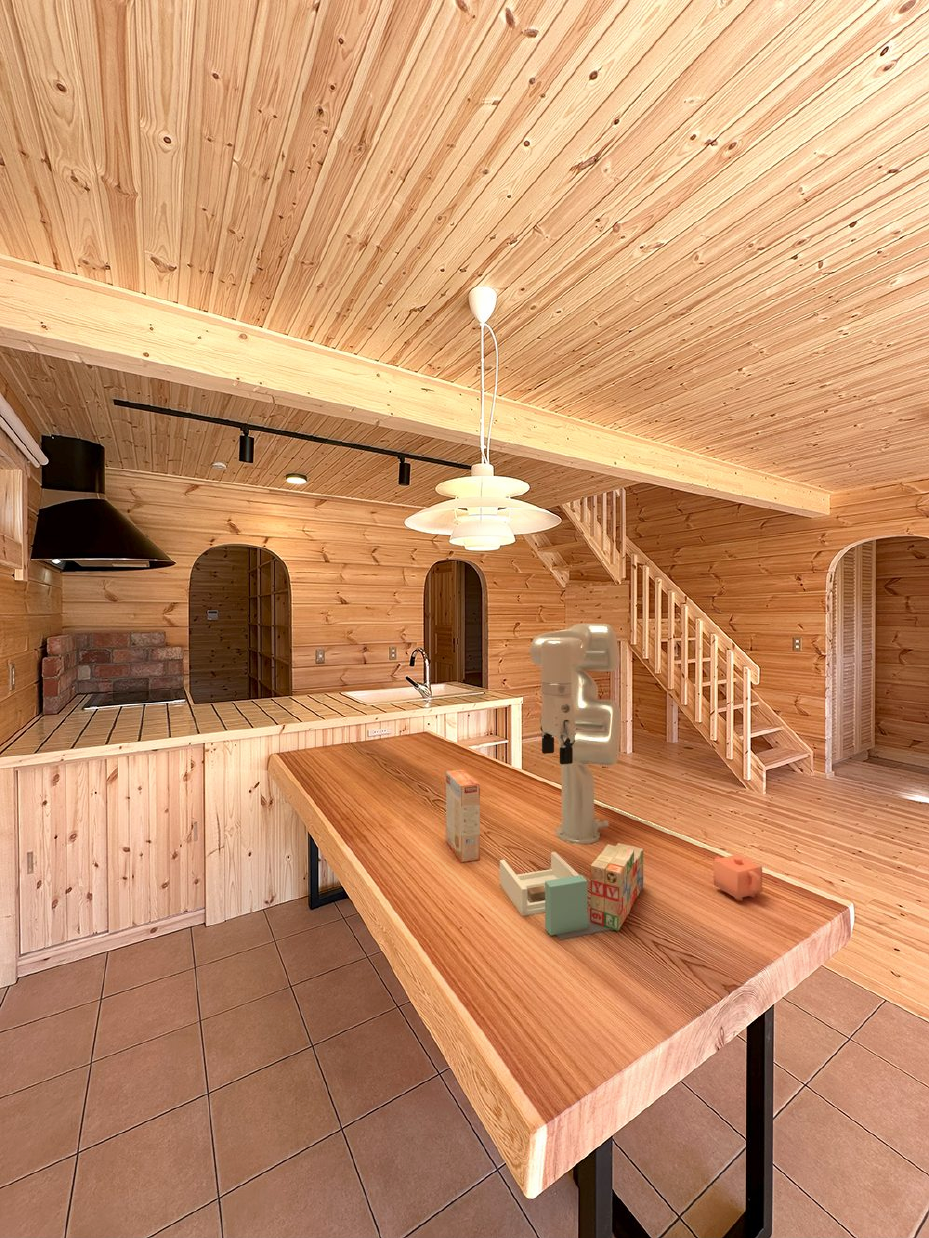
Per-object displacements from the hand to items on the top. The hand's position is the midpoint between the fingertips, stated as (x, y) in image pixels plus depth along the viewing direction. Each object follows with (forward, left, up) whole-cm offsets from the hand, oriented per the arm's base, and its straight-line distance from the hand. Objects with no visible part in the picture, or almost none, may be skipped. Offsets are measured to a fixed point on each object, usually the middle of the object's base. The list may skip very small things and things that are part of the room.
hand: (556, 758), depth 129 cm
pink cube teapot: (-38, +17, -31) cm, 52 cm away
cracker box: (+18, -22, -31) cm, 42 cm away
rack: (+7, +5, -30) cm, 31 cm away
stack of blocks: (-8, +14, -30) cm, 34 cm away
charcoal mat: (+4, +19, -30) cm, 36 cm away
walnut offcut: (+9, +9, -29) cm, 32 cm away
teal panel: (+3, +19, -25) cm, 32 cm away
